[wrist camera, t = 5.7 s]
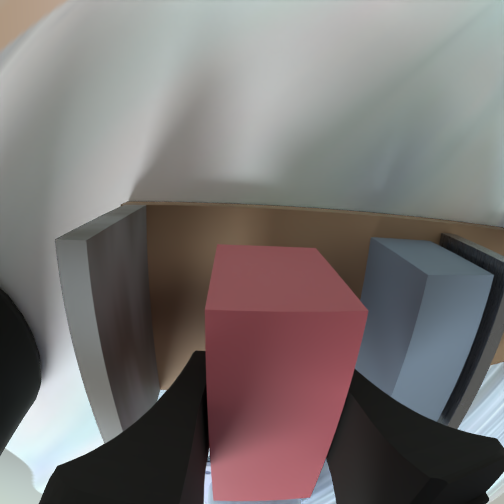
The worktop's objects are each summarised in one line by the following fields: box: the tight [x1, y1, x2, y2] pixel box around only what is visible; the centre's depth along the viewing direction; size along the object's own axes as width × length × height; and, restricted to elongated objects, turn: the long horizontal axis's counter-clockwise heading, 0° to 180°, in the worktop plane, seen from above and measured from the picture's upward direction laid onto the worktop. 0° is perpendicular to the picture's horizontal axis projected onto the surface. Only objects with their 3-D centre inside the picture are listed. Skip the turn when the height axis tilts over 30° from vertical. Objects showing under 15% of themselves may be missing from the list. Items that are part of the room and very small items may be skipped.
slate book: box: [355, 237, 494, 422], centre depth 13 cm, size 8×4×5 cm, turn 177°
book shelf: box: [55, 202, 504, 443], centre depth 13 cm, size 10×30×7 cm, turn 87°
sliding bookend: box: [437, 233, 504, 429], centre depth 13 cm, size 9×1×5 cm, turn 177°
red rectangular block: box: [205, 244, 368, 501], centre depth 10 cm, size 8×4×5 cm, turn 177°
